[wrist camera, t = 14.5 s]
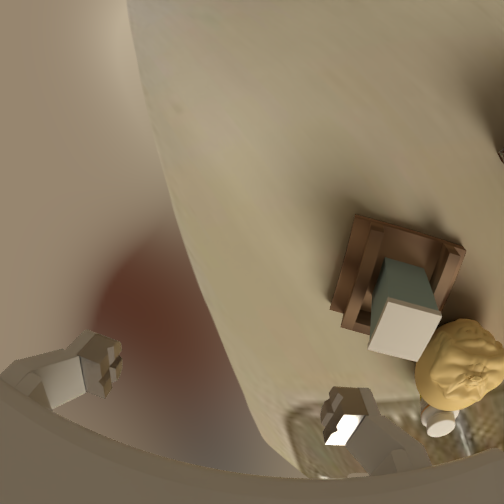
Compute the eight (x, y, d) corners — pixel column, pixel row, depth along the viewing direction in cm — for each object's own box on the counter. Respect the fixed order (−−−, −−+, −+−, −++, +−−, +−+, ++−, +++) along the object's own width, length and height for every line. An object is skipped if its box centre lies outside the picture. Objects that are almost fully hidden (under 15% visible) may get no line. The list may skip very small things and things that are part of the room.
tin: (384, 256, 30) (388, 301, 21) (424, 267, 28) (442, 316, 19) (370, 295, 32) (367, 349, 23) (409, 306, 30) (417, 361, 22)
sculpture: (499, 313, 26) (526, 363, 17) (463, 378, 31) (473, 432, 22) (433, 297, 30) (449, 351, 21) (401, 368, 35) (401, 425, 25)
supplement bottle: (458, 366, 31) (469, 418, 22) (441, 391, 33) (446, 442, 25) (429, 360, 33) (435, 414, 24) (412, 386, 35) (413, 438, 26)
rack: (355, 214, 31) (353, 224, 27) (462, 246, 27) (474, 260, 23) (331, 303, 36) (325, 322, 32) (427, 329, 32) (431, 350, 28)
